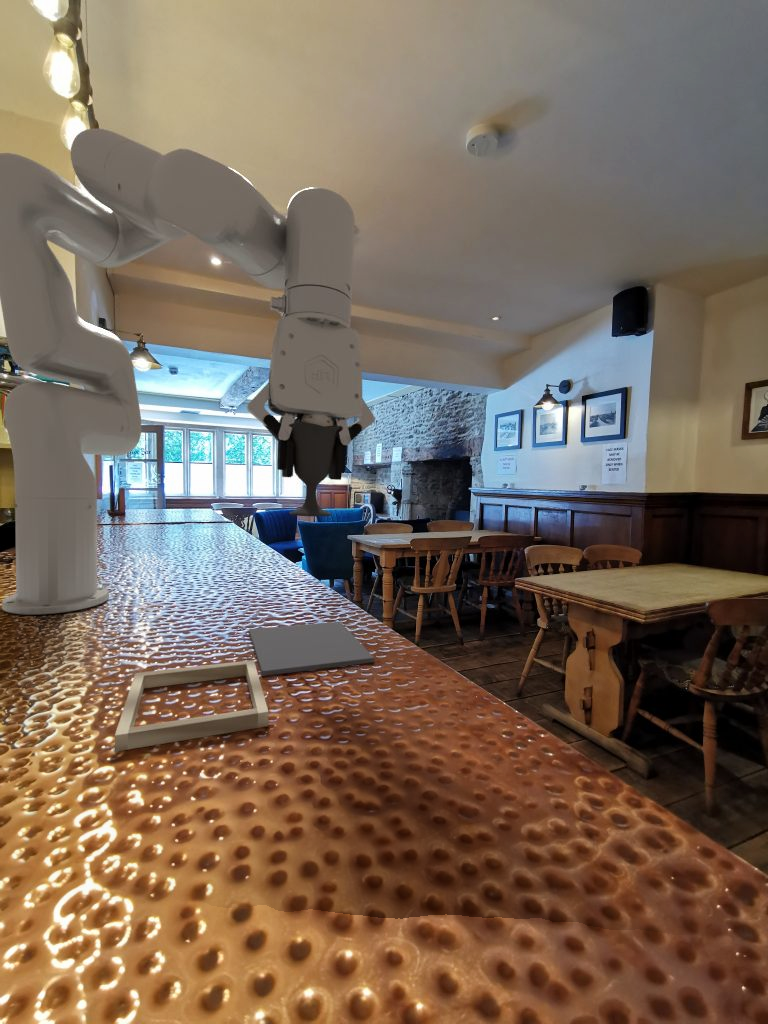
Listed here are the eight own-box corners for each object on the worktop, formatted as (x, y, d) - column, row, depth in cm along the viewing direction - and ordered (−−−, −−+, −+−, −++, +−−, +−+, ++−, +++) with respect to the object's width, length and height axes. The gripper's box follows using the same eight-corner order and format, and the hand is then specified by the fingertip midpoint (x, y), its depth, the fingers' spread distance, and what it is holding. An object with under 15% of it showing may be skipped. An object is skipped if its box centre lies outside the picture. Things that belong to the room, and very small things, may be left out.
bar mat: (249, 632, 56) (249, 629, 56) (339, 625, 61) (339, 621, 61) (262, 676, 44) (262, 671, 44) (373, 662, 49) (374, 657, 49)
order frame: (135, 685, 41) (135, 673, 41) (253, 671, 45) (253, 660, 45) (114, 751, 31) (114, 735, 31) (268, 726, 35) (268, 711, 35)
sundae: (329, 518, 47) (334, 376, 46) (271, 514, 49) (275, 376, 48) (346, 514, 54) (351, 389, 53) (295, 511, 55) (298, 389, 54)
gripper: (241, 288, 43) (236, 474, 44) (399, 320, 50) (391, 482, 51) (235, 313, 50) (231, 474, 51) (375, 338, 57) (369, 481, 58)
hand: (311, 476), depth 51 cm, fingers closed on sundae, 4 cm apart
